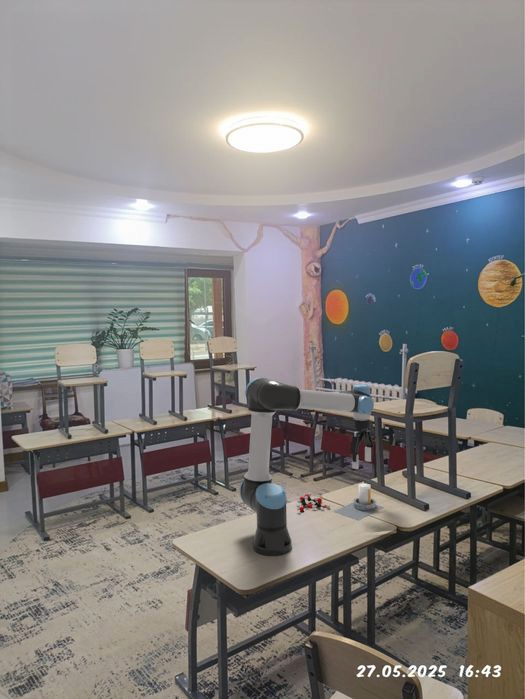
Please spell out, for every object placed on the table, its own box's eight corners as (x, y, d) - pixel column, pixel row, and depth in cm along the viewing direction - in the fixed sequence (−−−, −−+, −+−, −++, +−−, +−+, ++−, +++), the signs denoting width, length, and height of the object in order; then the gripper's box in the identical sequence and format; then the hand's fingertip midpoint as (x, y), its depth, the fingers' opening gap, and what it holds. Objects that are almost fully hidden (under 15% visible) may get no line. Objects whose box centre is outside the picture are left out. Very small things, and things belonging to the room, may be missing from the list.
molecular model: (299, 501, 238) (330, 496, 235) (301, 523, 227) (332, 518, 225) (294, 487, 232) (325, 482, 230) (295, 509, 222) (328, 503, 219)
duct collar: (358, 511, 220) (358, 506, 220) (350, 503, 230) (350, 498, 230) (379, 509, 222) (379, 504, 222) (371, 501, 232) (371, 496, 231)
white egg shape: (356, 506, 227) (355, 485, 226) (364, 503, 230) (364, 482, 229) (365, 510, 222) (365, 488, 221) (373, 507, 225) (373, 485, 224)
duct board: (358, 523, 211) (358, 519, 211) (333, 514, 221) (332, 511, 221) (384, 509, 225) (384, 506, 225) (359, 501, 235) (359, 499, 235)
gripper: (357, 424, 210) (357, 473, 212) (380, 415, 230) (380, 459, 232) (341, 422, 215) (341, 470, 216) (365, 413, 235) (365, 457, 236)
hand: (361, 464), depth 224 cm, fingers open, 13 cm apart
